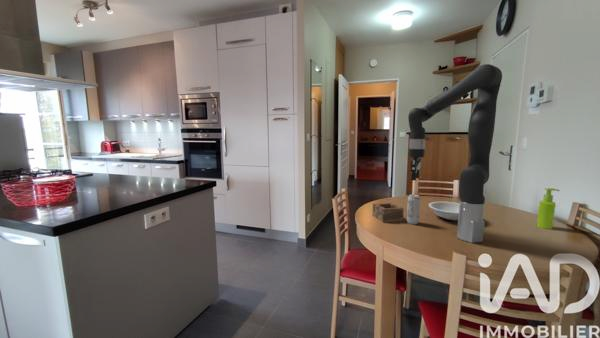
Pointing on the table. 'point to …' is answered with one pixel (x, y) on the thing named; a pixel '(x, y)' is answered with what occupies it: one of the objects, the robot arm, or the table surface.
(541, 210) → the soap dispenser
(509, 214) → the table surface
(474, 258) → the table surface
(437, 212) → the white vessel sink
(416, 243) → the table surface
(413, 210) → the energy drink can
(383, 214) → the square wooden frame
